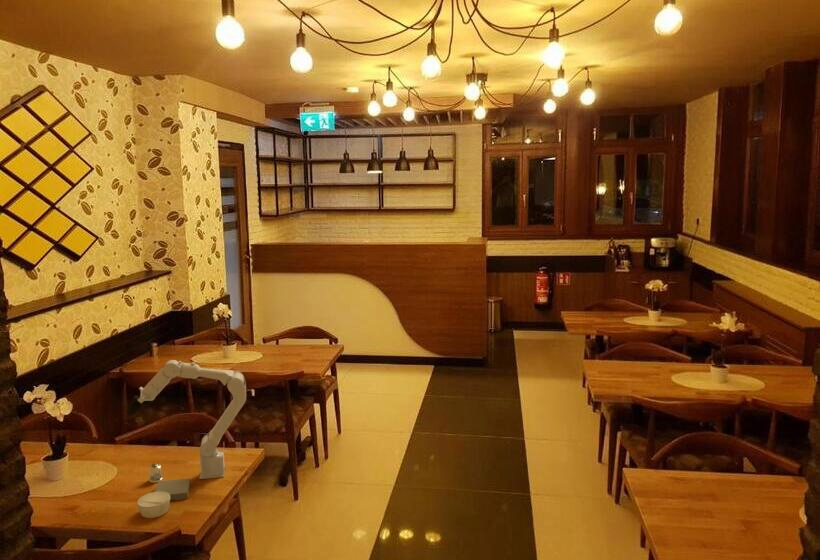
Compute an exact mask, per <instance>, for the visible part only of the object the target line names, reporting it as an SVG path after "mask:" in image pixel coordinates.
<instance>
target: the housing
mask: <svg viewBox="0 0 820 560" xmlns="http://www.w3.org/2000/svg"><path fill="white" fill-rule="evenodd" d="M148 469H149V470H148V471H149V479H148V481H149V483H151V484H158V483H157V482H160V481H164V477H163V474H162V464H160V463H152V464H150V466H149V467H148Z"/></svg>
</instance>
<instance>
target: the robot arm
mask: <svg viewBox="0 0 820 560" xmlns="http://www.w3.org/2000/svg"><path fill="white" fill-rule="evenodd" d="M176 377H179V378H186V379H193V380H196V379H198V378H199V377H201V378H207V379H212V380H218V381H220V383H221V384H223V386H226V387H227V389H228V391H229V392H230V394H231V396H232V398H233V399H232V400H231V401H230V403H229V404H228V406H227V407H226V409H225V410H224V412H223V413H222V415H221V416H220V418H219V419H218V420H217V422H216V423H215V425H214V427H213V428H212V429H210V430H209V431H208V433H207V434H205V435H203V437H202V438H201V444H200V447H199V460H200V474H199V477H198V478H199V480H207V479H215V478H224V477H225V470H226V464H225V454H224V451H222V452H221V451H219V450H218V449H217V447H218V445H219V443H220V442H221V439H222V437H223V436H224V435H225V432H226V431H227V430H228V428H229V427H230V426H231V424H232V423H233V421H234V419H235V418H236V416H237V415H238V413H239V412H240V410H242V408H243V406H244V405H245V403H246V401H247V382H246V378H245V376H244V375H243V373H242V372H241V371H234V370H230V369H218V368H217V369H216V368H206V367H201V366H200V365H199V364H197V363H196V362H194V361H193V362H191V363H189V362H182V361H181V360H179V361H178V360H175V359H170V360H168V361H166V362H165V364H164V367H162V368H161V369H160V370H159V371H158V372H157V373H156V374H155V375H154V376H153V378H151V380H150V381H148V383H147V384H146V385H145V386H144V387H143V386H140V387H138V390H139V391H140V395H139V396H138V395H134V397H133V399H132V401H131V404H130V406H129V407H128V409H127V411H126V413H127V414H128V415H130V416H132V415H135V414H136V412H138V411H139V410H141V409H144V408H145V407H147V405H148V403H151V402H153V401H154V400H155V399H156V397H157V396H158V395H159V394H160V393H161V392H162V391H163V390H164V388H165V387H166V386H168V384H169V383H170V382H171V380H172V379H174V378H176Z"/></svg>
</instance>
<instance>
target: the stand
mask: <svg viewBox="0 0 820 560" xmlns="http://www.w3.org/2000/svg"><path fill="white" fill-rule="evenodd" d="M191 484H192V482H191V478H190V477H189V478H180V479H172V480H162V481H160V482H158V483H156V487H155V490H154V492H158V491H162V492H167V493H169V494H170V502H171V501H179V500H180V499H181V500H187V499H189V498H188V497H189V494H190V490H189V489H191ZM188 493H189V494H188Z"/></svg>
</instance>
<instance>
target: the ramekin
mask: <svg viewBox="0 0 820 560" xmlns="http://www.w3.org/2000/svg"><path fill="white" fill-rule="evenodd" d="M170 502H171V501H170V494H169V493H167V492H162V491H158V492H155V491H153V492H148V493H146V494H144V495H142V496H141V497H140V498H138V500H137V502H136V503H137V507H138V510H139V513H140V515H141V516H142V518H147V519H155V518H160V517H162V516H164V515H165V514H166V513H168V511H169V509H170Z"/></svg>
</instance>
